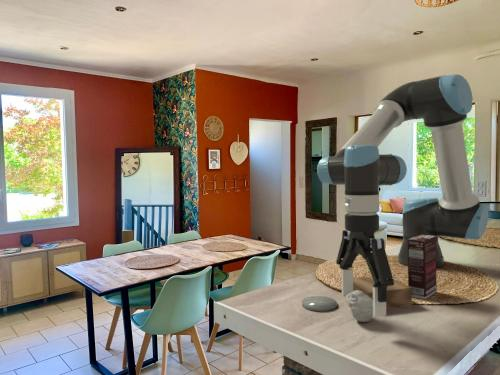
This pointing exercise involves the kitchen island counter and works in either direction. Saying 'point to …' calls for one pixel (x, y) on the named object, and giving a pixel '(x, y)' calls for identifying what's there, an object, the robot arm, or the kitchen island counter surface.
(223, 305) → the kitchen island counter surface
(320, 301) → the grey oval dome
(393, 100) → the robot arm
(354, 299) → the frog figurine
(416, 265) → the supplement box
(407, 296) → the walnut block
